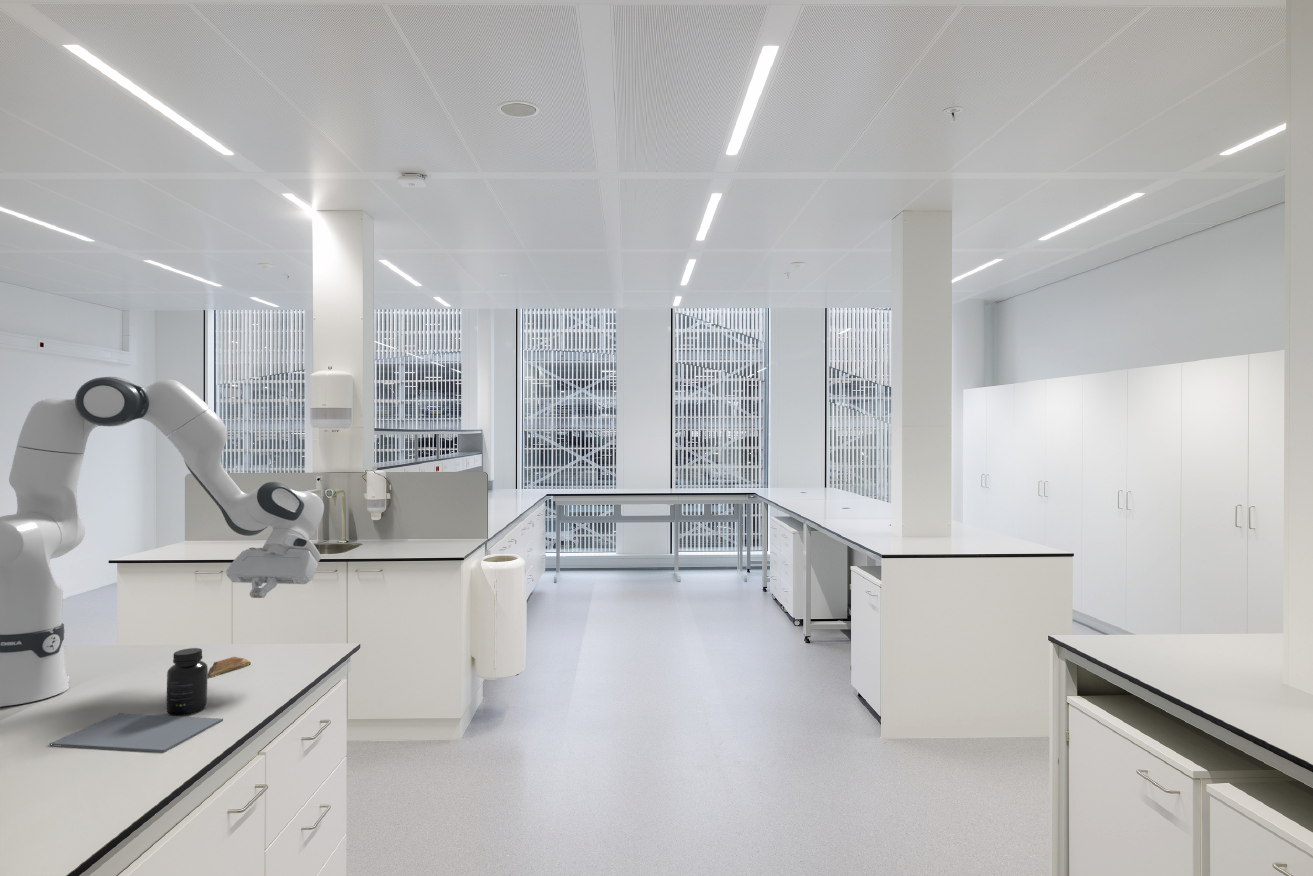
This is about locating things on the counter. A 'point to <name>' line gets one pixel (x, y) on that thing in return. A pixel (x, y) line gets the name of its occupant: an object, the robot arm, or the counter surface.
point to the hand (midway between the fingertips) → (256, 596)
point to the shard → (228, 665)
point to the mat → (138, 732)
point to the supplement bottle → (187, 683)
